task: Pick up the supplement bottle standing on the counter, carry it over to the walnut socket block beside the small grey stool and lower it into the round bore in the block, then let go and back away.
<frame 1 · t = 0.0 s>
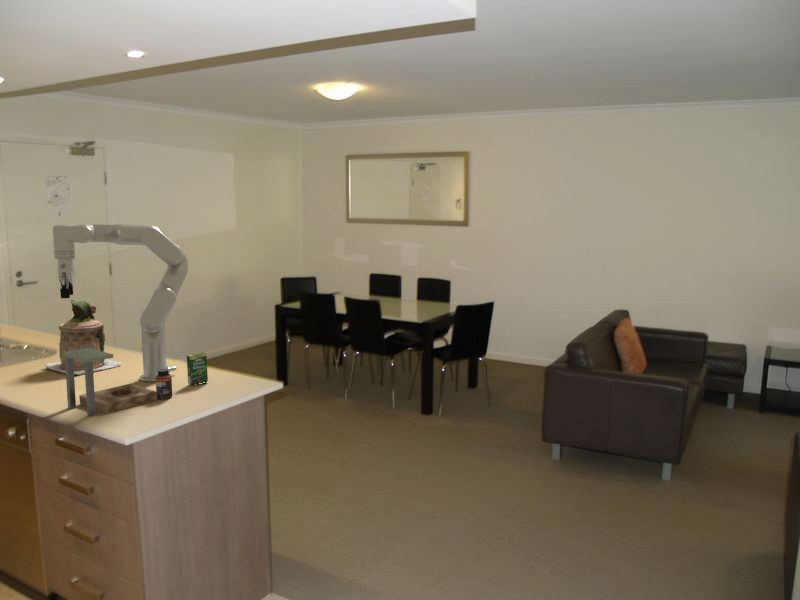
hand: (67, 296, 266), 37 cm above the counter, tool pointing down, fingers open, 9 cm apart
small grey stool: (90, 409, 239), on the counter
supplement bottle: (164, 398, 255), on the counter
coffee box: (197, 384, 274), on the counter
cookie jar: (83, 368, 299), on the counter
socket block: (122, 401, 249), on the counter
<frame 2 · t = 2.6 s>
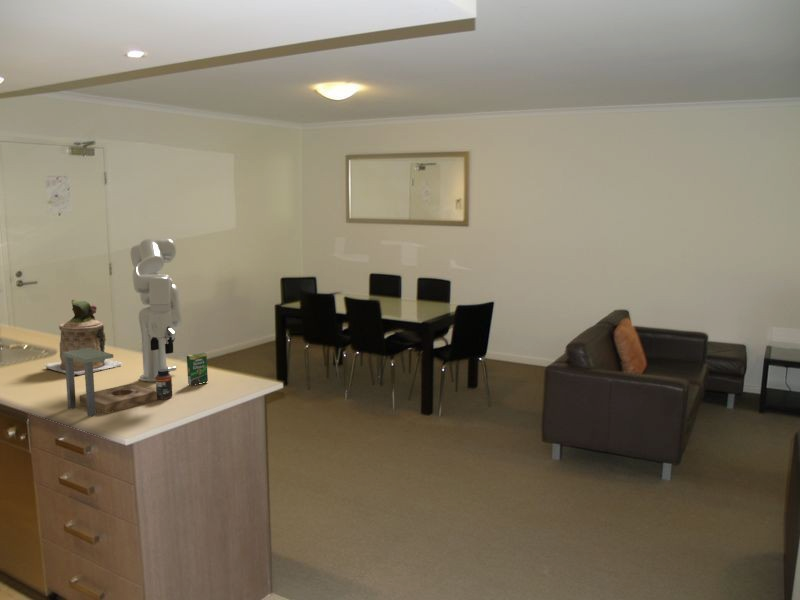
hand: (162, 351, 252), 19 cm above the counter, tool pointing down, fingers open, 9 cm apart
nothing on the counter moved.
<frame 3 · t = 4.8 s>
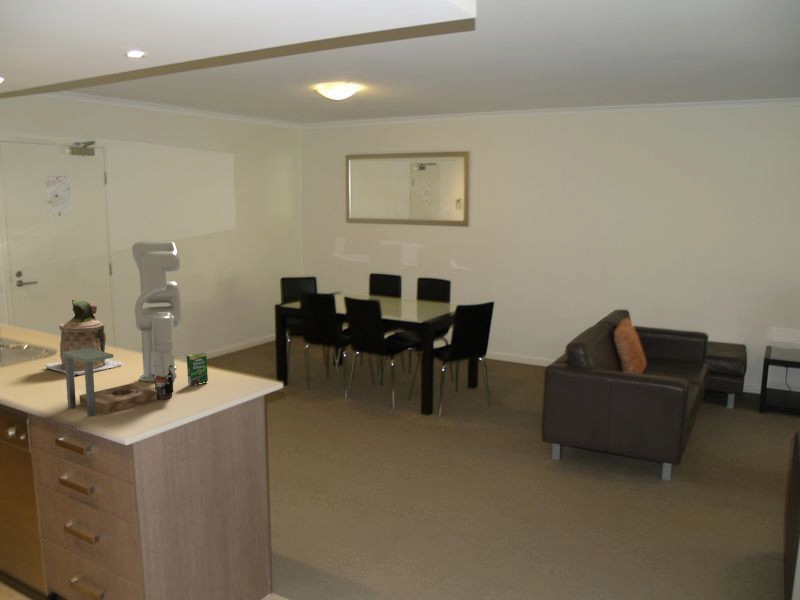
hand: (164, 391, 254), 3 cm above the counter, tool pointing down, fingers closed on supplement bottle, 6 cm apart
supplement bottle: (164, 398, 255), on the counter, touching gripper
everything else where it was.
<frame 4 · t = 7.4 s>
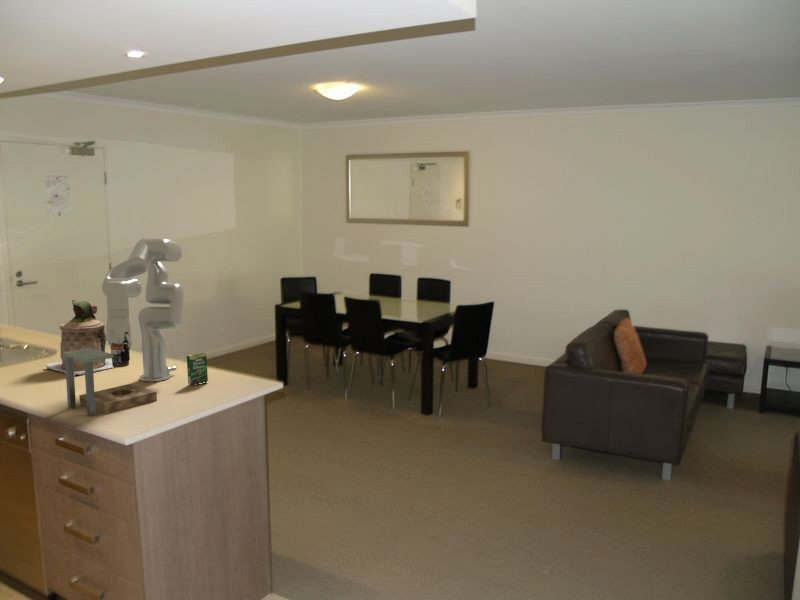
hand: (120, 359, 247), 17 cm above the counter, tool pointing down, fingers closed on supplement bottle, 6 cm apart
supplement bottle: (120, 366, 247), point 14 cm above the counter, touching gripper
everything else where it was.
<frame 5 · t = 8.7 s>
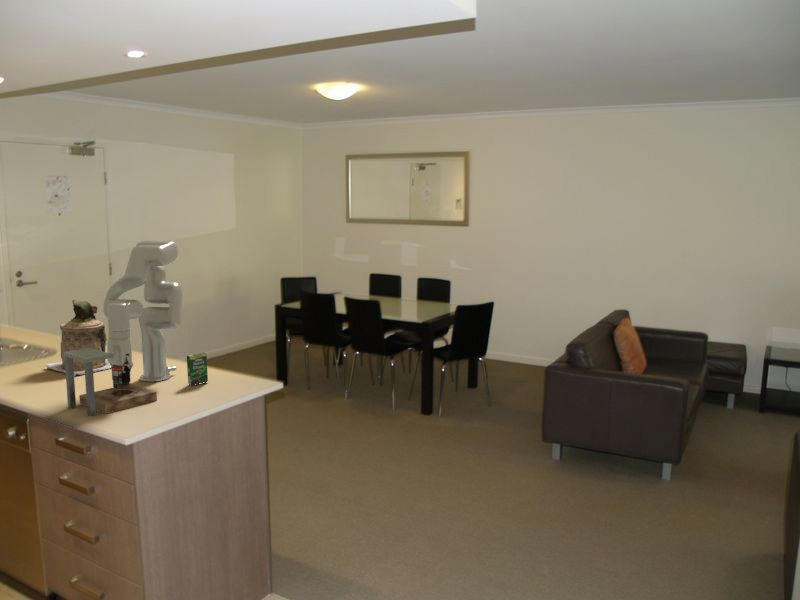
hand: (121, 380, 248), 8 cm above the counter, tool pointing down, fingers closed on supplement bottle, 6 cm apart
supplement bottle: (121, 387, 248), point 6 cm above the counter, touching gripper
everything else where it was.
when the fingers open (4 cm above the counter, at t = 9.9 s): supplement bottle drops 2 cm, resting in socket block.
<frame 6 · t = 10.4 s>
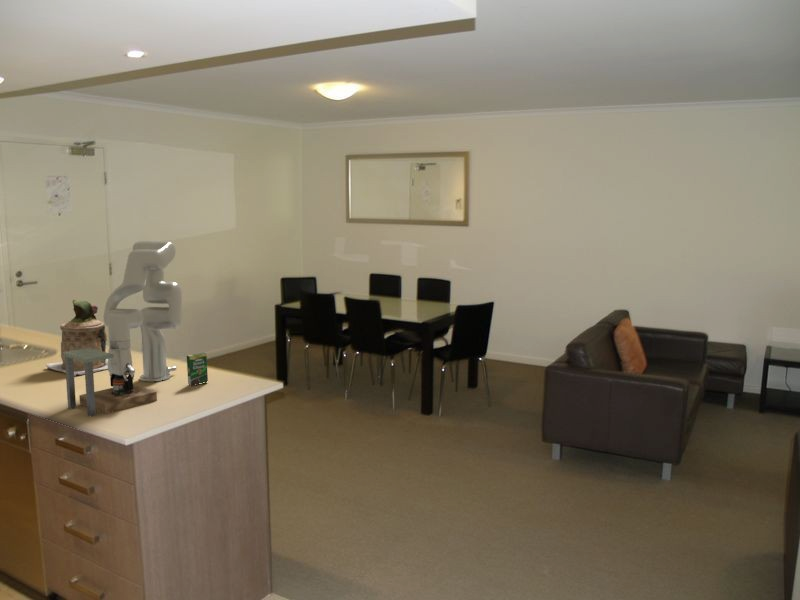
hand: (121, 388, 248), 5 cm above the counter, tool pointing down, fingers open, 9 cm apart
supplement bottle: (122, 401, 249), resting in socket block
everything else where it was.
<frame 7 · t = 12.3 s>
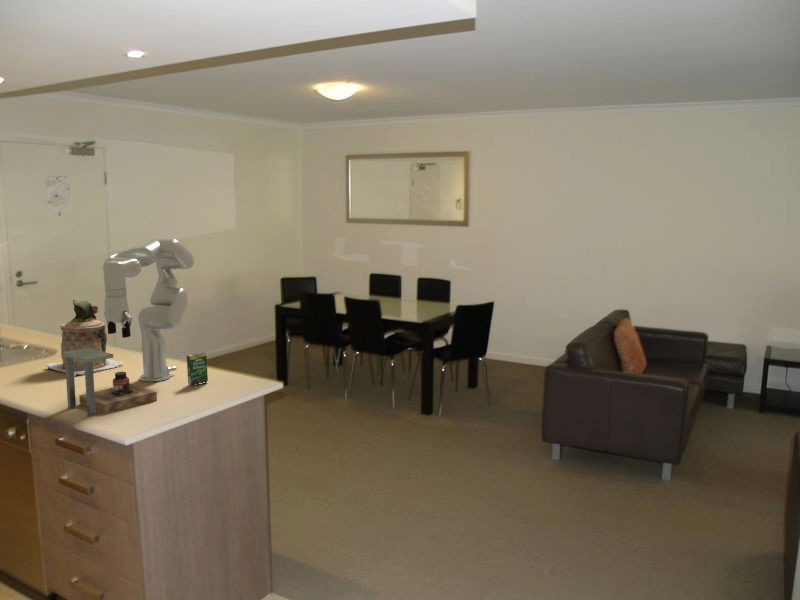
hand: (119, 335, 254), 24 cm above the counter, tool pointing down, fingers open, 9 cm apart
nothing on the counter moved.
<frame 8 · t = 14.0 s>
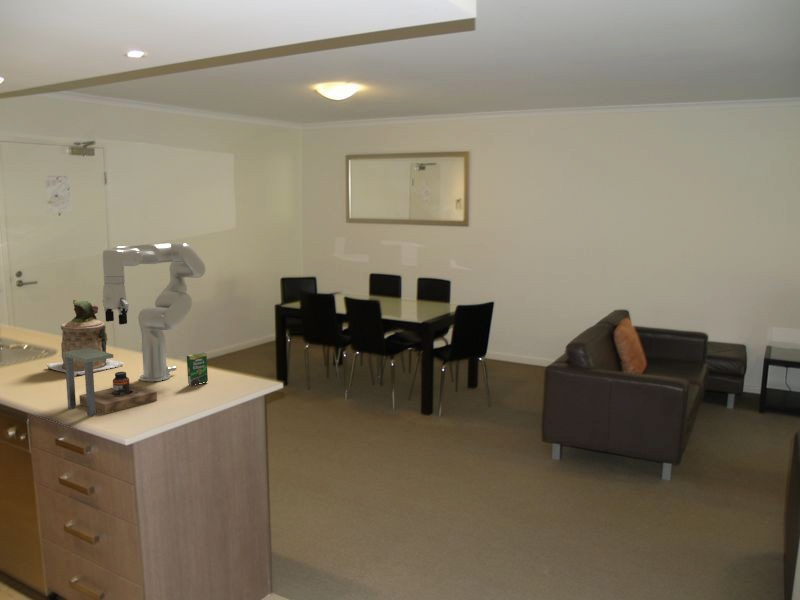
hand: (116, 322, 259), 28 cm above the counter, tool pointing down, fingers open, 9 cm apart
nothing on the counter moved.
at the end: supplement bottle 0.4 cm from the socket block (horizontally); supplement bottle tilted 0°; the gripper is holding nothing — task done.
